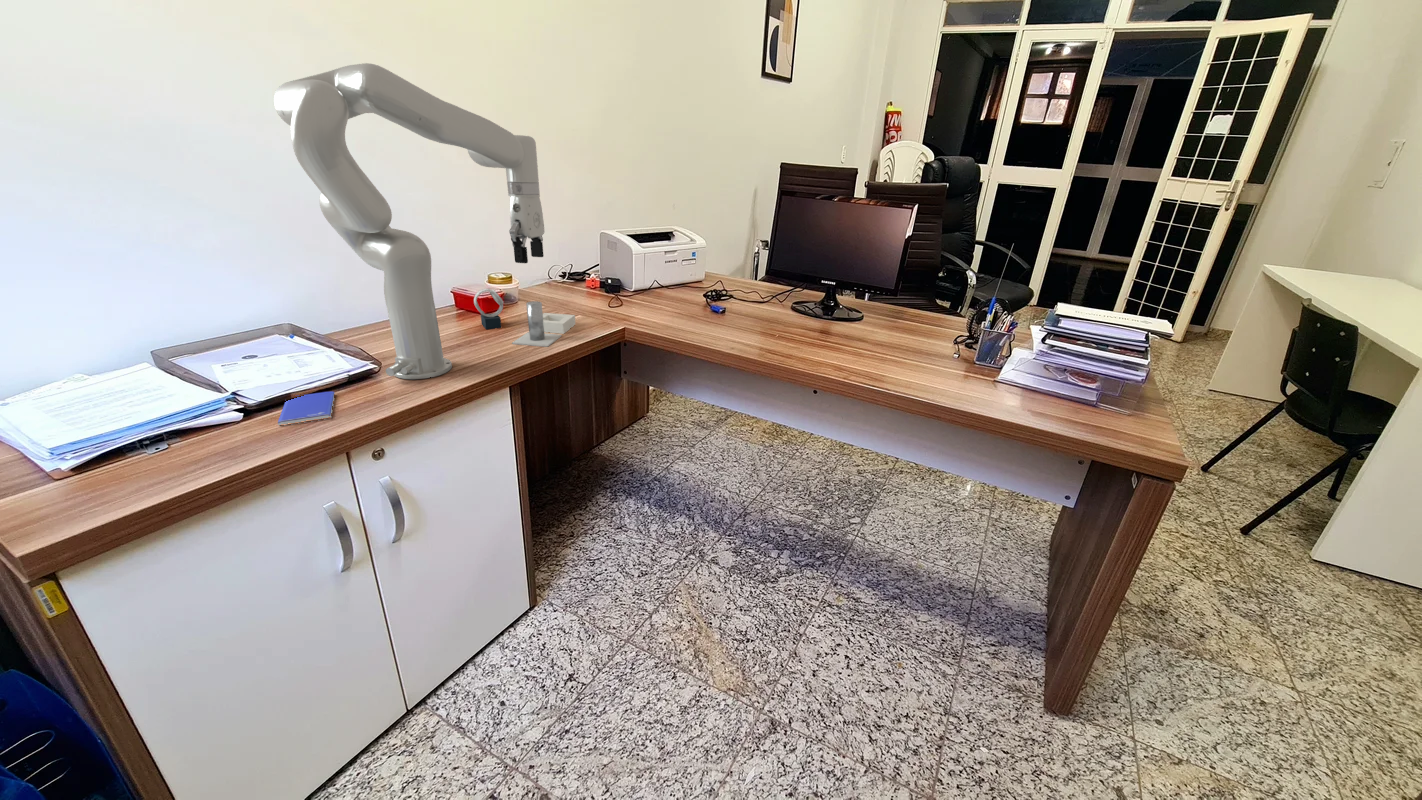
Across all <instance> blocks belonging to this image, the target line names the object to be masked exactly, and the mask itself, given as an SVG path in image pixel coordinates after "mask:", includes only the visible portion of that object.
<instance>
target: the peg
mask: <svg viewBox="0 0 1422 800" xmlns="http://www.w3.org/2000/svg"><path fill="white" fill-rule="evenodd" d="M543 313H544V311H543V303H542V302H541V301H532V300H531V301H528V302H526V314H527V323H528V332H529V335H530V340H533V341H540V340H544V339H545V334H544V333H545V332H544V323H543Z"/></svg>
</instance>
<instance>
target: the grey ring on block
mask: <svg viewBox="0 0 1422 800" xmlns="http://www.w3.org/2000/svg"><path fill="white" fill-rule="evenodd" d="M486 292H487V293H488V292H489V294H490V296H491V297H492V298H493V300H494V301H495V302H496V303H497V304H498V305H499V307H498V309H497V311H495V312H493V313H485V312H484V311H483V310H482V309H481V307H480V306H479V303H478V301H477V300H478V298H479V296H480V295H482V294H483V293H486ZM504 303H505V302H504V301H503V298H502V297H501V296H500V295H499V294H498V293H497V291H496V290H494V289H490V288H482V289H479V290H478V291H477V292H476V293H475V295H474V297H473V304H474V306H475V308H476V309H477V311H478V312H479V313H480V320H481V322H480V323H481V326H482V325H483V326H482V327H483V328H484V330H495V328H497V329H502V328H501V327H502V319H501V316H499V315H500V314H501V312H502V311H503V309H504Z"/></svg>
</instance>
